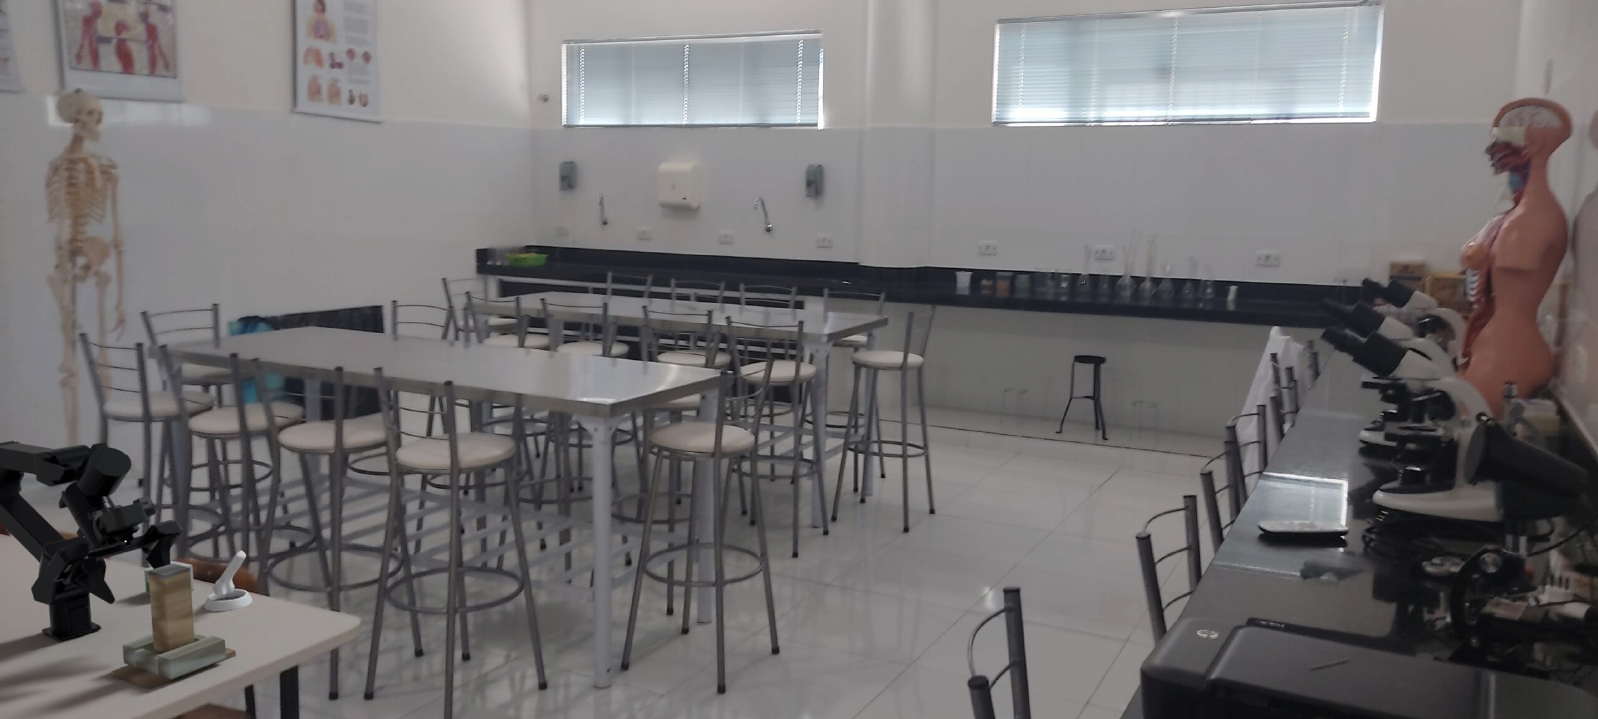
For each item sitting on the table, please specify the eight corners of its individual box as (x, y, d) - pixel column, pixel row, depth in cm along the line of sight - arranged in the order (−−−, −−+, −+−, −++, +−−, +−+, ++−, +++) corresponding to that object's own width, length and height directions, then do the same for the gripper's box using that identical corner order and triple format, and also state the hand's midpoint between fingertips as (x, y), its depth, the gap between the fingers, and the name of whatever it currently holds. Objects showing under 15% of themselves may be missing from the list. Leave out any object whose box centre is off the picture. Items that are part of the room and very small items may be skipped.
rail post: (154, 662, 173) (148, 570, 171) (179, 653, 176) (173, 563, 174) (170, 667, 171) (164, 575, 169) (195, 658, 174) (189, 567, 172)
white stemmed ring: (264, 584, 195) (226, 564, 193) (230, 633, 198) (193, 614, 196) (279, 561, 202) (242, 542, 200) (246, 609, 205) (210, 590, 203)
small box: (144, 595, 204) (142, 568, 203) (173, 585, 209) (171, 559, 208) (167, 599, 202) (165, 573, 201) (195, 589, 207) (193, 563, 206)
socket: (107, 674, 170) (105, 650, 170) (194, 642, 183) (192, 620, 182) (154, 690, 165) (153, 665, 164) (241, 656, 177) (239, 633, 177)
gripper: (52, 497, 167) (101, 582, 164) (172, 471, 184) (219, 548, 180) (25, 539, 172) (73, 623, 169) (145, 510, 188) (190, 586, 185)
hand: (142, 593), depth 176 cm, fingers open, 9 cm apart
